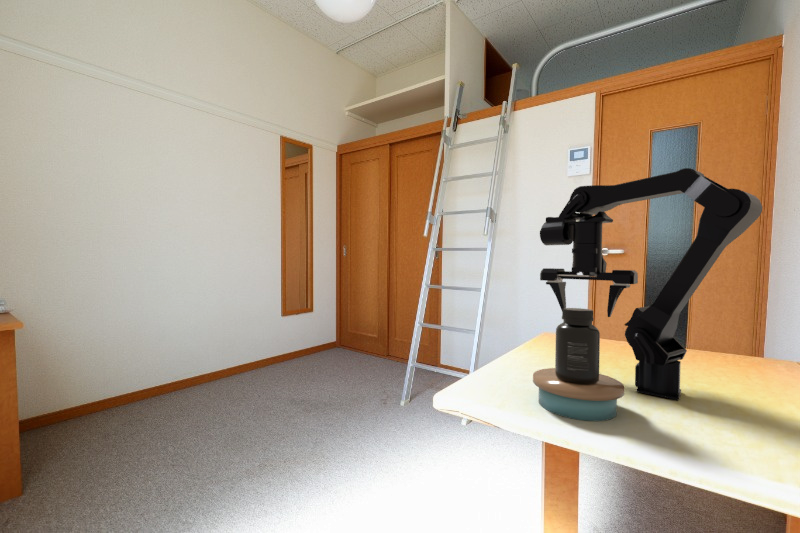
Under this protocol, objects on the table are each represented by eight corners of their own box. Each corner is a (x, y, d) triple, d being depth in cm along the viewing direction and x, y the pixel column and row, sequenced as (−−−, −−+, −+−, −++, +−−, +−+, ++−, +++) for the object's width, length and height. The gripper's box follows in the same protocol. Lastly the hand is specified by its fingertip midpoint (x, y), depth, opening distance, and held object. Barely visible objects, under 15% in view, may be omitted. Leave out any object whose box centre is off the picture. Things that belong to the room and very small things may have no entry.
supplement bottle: (607, 381, 63) (609, 310, 63) (584, 388, 59) (586, 312, 59) (569, 371, 69) (571, 306, 69) (546, 376, 65) (547, 308, 65)
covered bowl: (630, 404, 65) (631, 378, 65) (614, 432, 54) (614, 401, 54) (548, 386, 74) (548, 363, 74) (519, 407, 63) (520, 380, 63)
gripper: (642, 245, 83) (640, 315, 83) (555, 246, 95) (554, 307, 95) (634, 242, 75) (632, 321, 75) (539, 244, 87) (538, 311, 87)
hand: (585, 314), depth 83 cm, fingers open, 9 cm apart
